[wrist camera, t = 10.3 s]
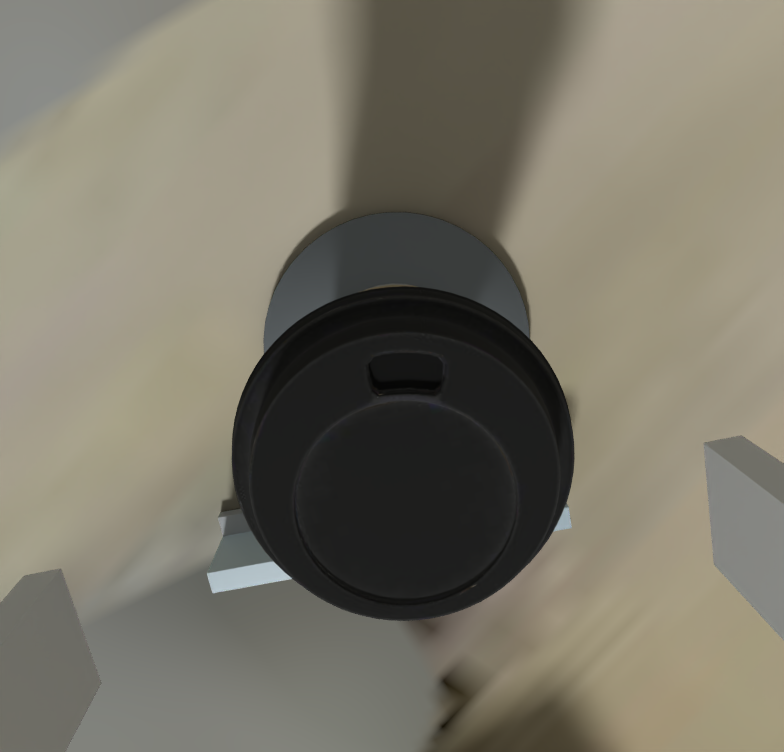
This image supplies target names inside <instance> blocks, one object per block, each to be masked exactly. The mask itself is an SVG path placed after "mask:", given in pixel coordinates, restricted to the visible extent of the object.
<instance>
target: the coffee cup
mask: <svg viewBox="0 0 784 752" xmlns="http://www.w3.org/2000/svg"><path fill="white" fill-rule="evenodd" d="M573 470H574V439H573V430H572V425H571V419H570V414H569V410H568V405H567V402H566V399H565V396H564V393H563V390H562V388H561V386H560V383H559V381H558V379H557V377H556V375H555V373H554V371H553V370H552V368H551V366H550V364H549V363H548V361H547V360H546V358H545V357H544V356H543V354H542V353H541V351H540V350H539V349H538V348H537V347H536V345H535V344H534V343H533V342H532V341H531V340H530V339H529V338H528V337H527V336H526V335H525V334H524V333H523V332H522V331H521V330H520V329H519V328H517V327H516V326H515V325H514V324H513V323H511V322H510V321H509V320H507V319H506V318H504V317H503V316H501V315H500V314H499V313H497V312H495V311H494V310H492V309H490V308H488V307H486V306H484V305H483V304H481V303H478V302H476V301H474V300H471V299H469V298H466V297H463V296H460V295H457V294H454V293H450V292H446V291H442V290H438V289H431V288H424V287H417V286H413V285H408V284H393V283H392V284H385V285H378V286H375V287H372V288H368V289H366V290H364V291H360V292H357V293H354V294H351V295H347V296H344V297H341V298H339V299H336V300H334V301H332V302H329V303H327V304H325V305H323V306H321V307H319V308H318V309H316V310H314V311H312V312H310V313H309V314H307V315H306V316H304V317H303V318H301V319H300V320H298V321H297V322H296V323H295V324H293V325H292V326H291V327H290V328H288V329H287V330H286V331H285V332H284V333H283V334H282V335H281V336H280V337H279V338H278V339H277V340H276V341H275V342H274V343H273V344H272V345H271V346H270V348H269V349H268V350H267V351H266V352H265V353H264V355H263V356H262V358H261V359H260V361H259V362H258V363H257V365H256V366H255V368H254V370H253V372H252V373H251V375H250V377H249V379H248V381H247V383H246V386H245V388H244V390H243V392H242V395H241V398H240V401H239V404H238V407H237V412H236V416H235V420H234V428H233V436H232V471H233V479H234V485H235V490H236V494H237V498H238V502H239V504H240V507H241V510H242V513H243V515H244V517H245V520H246V522H247V524H248V526H249V528H250V530H251V531H252V533H253V535H254V536H255V538H256V540H257V541H258V543H259V544H260V545H261V547H262V548H263V550H264V551H265V552H266V553H267V555H268V556H269V557H270V558H271V559H272V560H273V562H274V563H275V564H276V565H278V566H279V567H280V568H281V569H282V570H283V571H284V572H285V573H286V574H287V575H288V576H290V577H291V578H292V579H293V580H295V581H296V582H297V583H299V584H300V585H302V586H303V587H304V588H306V589H307V590H308V591H310V592H311V593H313V594H314V595H316V596H317V597H319V598H321V599H323V600H324V601H326V602H328V603H330V604H332V605H334V606H336V607H338V608H341V609H343V610H346V611H349V612H352V613H355V614H358V615H362V616H366V617H371V618H376V619H384V620H398V621H409V620H422V619H430V618H435V617H440V616H444V615H448V614H451V613H455V612H458V611H460V610H463V609H466V608H468V607H470V606H472V605H475V604H477V603H479V602H481V601H482V600H484V599H486V598H488V597H489V596H491V595H493V594H494V593H495V592H497V591H498V590H500V589H501V588H503V587H504V586H505V585H506V584H507V583H509V582H510V581H511V580H512V579H513V578H514V577H515V576H516V575H517V574H518V573H519V572H521V570H522V569H523V568H524V567H525V566H526V565H528V564H529V563H530V562H531V561H532V559H533V558H534V557H535V556H536V555H537V554H538V552H539V551H540V550H541V549H542V547H543V546H544V545H545V543H546V542H547V540H548V539H549V537H550V536H551V534H552V532H553V531H554V529H555V527H556V526H557V523H558V521H559V519H560V517H561V515H562V513H563V510H564V508H565V505H566V502H567V499H568V495H569V492H570V488H571V483H572V477H573Z"/></svg>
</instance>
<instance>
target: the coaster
mask: <svg viewBox="0 0 784 752" xmlns="http://www.w3.org/2000/svg"><path fill="white" fill-rule="evenodd" d="M392 283H393V284H408V285H413V286H417V287H424V288H431V289H438V290H442V291H446V292H450V293H454V294H457V295H460V296H463V297H466V298H469V299H471V300H474V301H476V302H478V303H481V304H483V305H484V306H486V307H488V308H490V309H492V310H494V311H495V312H497V313H499V314H500V315H501V316H503V317H504V318H506V319H507V320H509V321H510V322H511V323H513V324H514V325H515V326H516V327H517V328H519V329H520V330H521V331H522V332H523V333H524V334H525V335H526V336H527V337H528V338H529V339H530V337H529V325H528V319H527V315H526V310H525V306H524V303H523V300H522V298H521V295H520V292H519V290H518V288H517V286H516V284H515V282H514V280H513V278H512V277H511V275H510V273H509V272H508V271H507V269H506V268H505V266H504V265H503V264H502V262H501V261H500V260H499V259H498V258H497V257H496V255H495V254H494V253H493V252H492V251H491V250H490V249H489V248H488V247H487V246H485V245H484V244H483V243H482V242H480V241H479V240H478V239H477V238H475V237H474V236H472V235H471V234H469V233H467V232H466V231H464V230H462V229H461V228H459V227H457V226H455V225H453V224H450V223H448V222H446V221H443V220H441V219H437V218H434V217H430V216H427V215H422V214H415V213H408V212H387V213H379V214H371V215H367V216H364V217H360V218H356V219H353V220H351V221H348V222H346V223H343V224H341V225H339V226H336V227H335V228H333V229H331V230H330V231H328V232H326V233H325V234H323V235H321V236H320V237H319V238H318V239H316V240H315V241H314V242H312V243H311V244H310V245H309V246H307V247H306V248H305V249H304V250H303V251H302V253H301V254H300V255H299V256H298V257H297V258H296V259H295V260H294V261H293V262H292V264H291V265H290V266H289V268H288V269H287V271H286V272H285V273H284V275H283V276H282V278H281V280H280V282H279V284H278V286H277V287H276V289H275V292H274V294H273V297H272V300H271V302H270V305H269V308H268V313H267V317H266V321H265V330H264V353H265V352H266V351H267V350H268V349H269V348H270V346H271V345H272V344H273V343H274V342H275V341H276V340H277V339H278V338H279V337H280V336H281V335H282V334H283V333H284V332H285V331H286V330H287V329H288V328H290V327H291V326H292V325H293V324H295V323H296V322H297V321H298V320H300V319H301V318H303V317H304V316H306V315H307V314H309V313H310V312H312V311H314V310H316V309H318V308H319V307H321V306H323V305H325V304H327V303H329V302H332V301H334V300H336V299H339V298H341V297H344V296H347V295H351V294H354V293H357V292H360V291H364V290H366V289H368V288H372V287H375V286H378V285H385V284H392Z"/></svg>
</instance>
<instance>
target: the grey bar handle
mask: <svg viewBox="0 0 784 752" xmlns="http://www.w3.org/2000/svg"><path fill="white" fill-rule="evenodd" d="M218 520H219V523H220V527H221V530H222V534H223V538H222V540H221V542H220V545H219V547H218V549H217V551H216V554H215V556H214V558H213V561H212V563H211V565H210V567H209V570H208V572H207V575H208V579H209V582H210V586H211V589H212V593H216V592H222V591H227V590H233V589H238V588H244V587H249V586H255V585H260V584H266V583H271V582H277V581H282V580H287V579H292V578H291V577H290V576H288V575H287V574H286V573H285V572H284V571H283V570H282V569H281V568H280V567H279V566H278V565H276V564H275V563H274V562H273V560H272V559H271V558H270V557H269V556H268V555H267V553H266V552H265V551H264V550H263V548H262V547H261V545H260V544H259V543H258V541H257V540H256V538H255V536H254V535H253V533H252V531H251V530H250V528H249V526H248V524H247V522H246V520H245V517H244V515H243V513H242V510H241V509H235V510H230V511H225V512H220V515H219V517H218ZM568 528H572V527H571V520H570V513H569V507H568V505H567V503H566V505H565V508H564V510H563V513H562V515H561V517H560V519H559V521H558V523H557V526H556V527H555V529H554V531H557V530H563V529H568Z"/></svg>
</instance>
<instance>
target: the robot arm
mask: <svg viewBox="0 0 784 752" xmlns="http://www.w3.org/2000/svg"><path fill="white" fill-rule="evenodd" d="M704 454H705V466H706V477H707V489H708V501H709V513H710V524H711V536H712V548H713V560H714V565H715V566H716V567H717V568H718V569H719V571H720V572H721V573H722V574H723V575H724V576H725V577H726V578H727V579H728V580H729V581H730V583H731V584H732V585H733V586H734V587H735V588H736V589H737V590H738V591H739V592H740V593H741V595H742V596H743V597H744V598H745V599H746V600H747V601H748V602H749V603H750V604H751V605H752V607H753V608H754V609H755V610H756V611H757V612H758V613H759V614H760V615H761V616H762V617H763V618H764V620H765V621H766V622H767V623H768V624H769V625H770V626H771V627H772V628H773V629H774V630H775V632H776V633H777V634H778V635H779V636H780V637H781V638H782V639H783V640H784V463H782V462H781V461H779V460H778V459H776V458H775V457H773V456H772V455H770V454H769V453H767V452H766V451H764V450H763V449H761V448H760V447H758V446H757V445H755V444H754V443H752V442H751V441H749V440H748V439H746V438H745V437H743V436H742V435H741V436H736V437H731V438H726V439H720V440H715V441H710V442H705V443H704ZM100 685H101V680H100V678H99V675H98V672H97V669H96V666H95V664H94V661H93V658H92V655H91V652H90V649H89V646H88V644H87V641H86V638H85V635H84V632H83V629H82V627H81V624H80V621H79V618H78V615H77V612H76V610H75V607H74V604H73V601H72V598H71V596H70V593H69V590H68V587H67V584H66V581H65V579H64V576H63V573H62V570H61V569H56V570H51V571H46V572H41V573H36V574H30V575H25V576H23V577H22V579H21V580H20V581H19V582H18V583H17V584H16V586H15V587H14V588H13V589H12V590H11V591H10V592H9V594H8V595H7V596H6V597H5V598H4V599H3V601H2V602H1V603H0V752H65V751H66V750H67V748H68V746H69V744H70V742H71V740H72V738H73V736H74V734H75V732H76V730H77V729H78V727H79V725H80V723H81V721H82V719H83V717H84V715H85V713H86V711H87V709H88V707H89V706H90V704H91V702H92V700H93V698H94V696H95V694H96V692H97V690H98V688H99V686H100Z"/></svg>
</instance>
